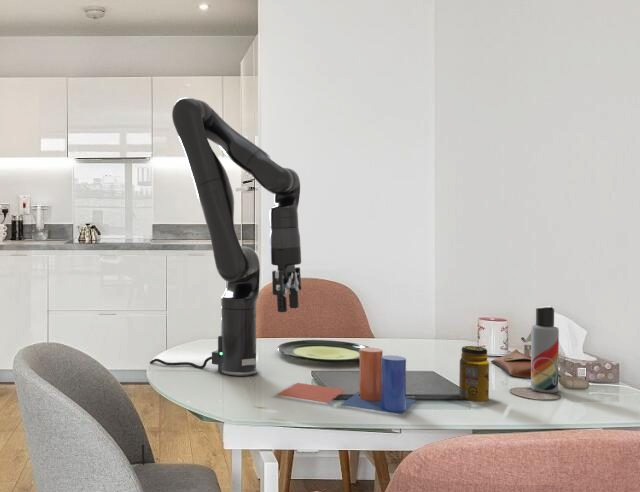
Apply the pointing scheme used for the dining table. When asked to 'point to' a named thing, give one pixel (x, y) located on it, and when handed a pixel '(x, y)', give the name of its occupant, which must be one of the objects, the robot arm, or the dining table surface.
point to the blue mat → (371, 404)
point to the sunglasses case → (515, 364)
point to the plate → (322, 350)
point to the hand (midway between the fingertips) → (288, 310)
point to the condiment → (474, 374)
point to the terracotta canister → (370, 373)
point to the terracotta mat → (311, 392)
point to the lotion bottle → (544, 352)
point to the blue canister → (393, 383)
